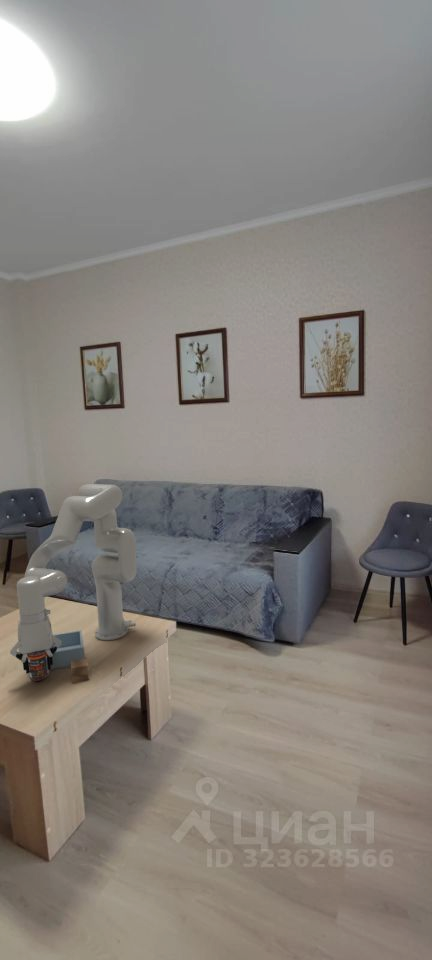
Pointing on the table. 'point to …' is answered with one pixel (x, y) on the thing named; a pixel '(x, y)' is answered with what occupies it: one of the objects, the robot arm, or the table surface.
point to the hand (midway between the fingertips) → (38, 668)
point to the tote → (68, 649)
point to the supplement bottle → (38, 665)
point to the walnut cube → (79, 670)
